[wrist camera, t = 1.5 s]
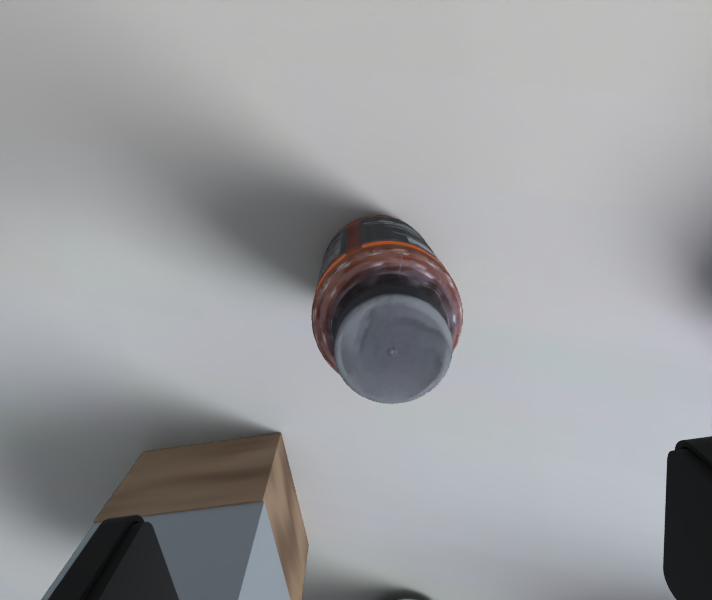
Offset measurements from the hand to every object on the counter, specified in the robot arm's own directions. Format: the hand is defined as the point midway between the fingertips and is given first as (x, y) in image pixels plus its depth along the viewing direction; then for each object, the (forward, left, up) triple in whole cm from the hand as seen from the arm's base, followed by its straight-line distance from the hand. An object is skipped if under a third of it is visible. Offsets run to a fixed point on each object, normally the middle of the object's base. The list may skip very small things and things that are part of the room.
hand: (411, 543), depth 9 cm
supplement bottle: (0, 0, -19) cm, 19 cm away
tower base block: (+14, -12, -19) cm, 26 cm away
